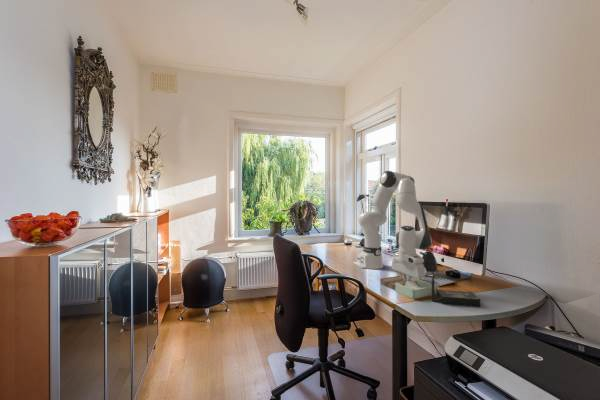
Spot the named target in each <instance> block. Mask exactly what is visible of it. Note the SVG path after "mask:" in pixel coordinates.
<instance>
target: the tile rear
mask: <svg viewBox="0 0 600 400" xmlns="http://www.w3.org/2000/svg"><path fill="white" fill-rule="evenodd" d="M405 286H406V287H409V288H411V289H413V288H416V287H419V286H418V285H417V284H416V283H415V282H414V281H408V282H406V283H405Z"/></svg>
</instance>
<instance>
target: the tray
mask: <svg viewBox="0 0 600 400" xmlns="http://www.w3.org/2000/svg"><path fill="white" fill-rule="evenodd" d="M416 282H417V285H418V286H419V287H422V288H419V289H411V288H409V287H406V286H404V285H401V284H399V283H395V290H394V291H395V292H396V293H398V294H400V295H402V296H405V297H407V298H408V299H412V300H413V301H414V300H417V299H423V298H429V297H432V282H431V283H430V282H428V281H425V280H421V279H417V281H416ZM437 289H438V285H436V284H434V296H437Z"/></svg>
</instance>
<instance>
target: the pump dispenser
mask: <svg viewBox="0 0 600 400" xmlns="http://www.w3.org/2000/svg"><path fill="white" fill-rule="evenodd" d="M419 254H421V255H422V257H421V258H423V259H424V262H423V265H424V267H425V269H426V275H433V267H434V276H435V275H436V274H437V273H438V262H437V258H436V257H435V254H434V253H433V252H432V251H430V250H428V251H426V250H425V252H422V251H420V252H419Z"/></svg>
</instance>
